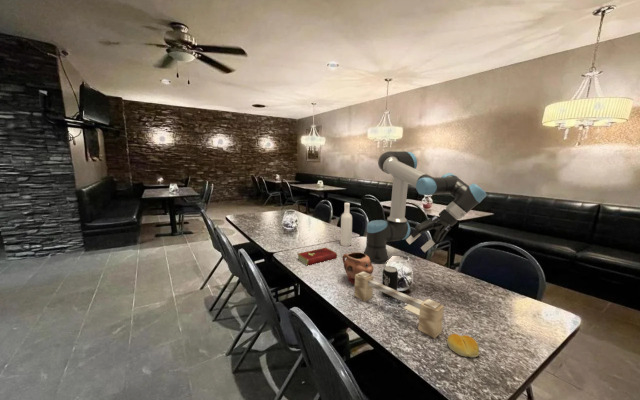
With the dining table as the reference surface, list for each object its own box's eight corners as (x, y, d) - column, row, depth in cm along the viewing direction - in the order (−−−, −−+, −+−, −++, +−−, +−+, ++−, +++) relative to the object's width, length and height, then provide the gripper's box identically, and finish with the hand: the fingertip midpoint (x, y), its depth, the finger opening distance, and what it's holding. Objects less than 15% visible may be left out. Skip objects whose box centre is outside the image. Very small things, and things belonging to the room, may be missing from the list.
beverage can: (397, 298, 112) (399, 272, 110) (382, 296, 114) (383, 271, 112) (396, 291, 119) (397, 266, 117) (381, 289, 120) (382, 265, 118)
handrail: (354, 296, 114) (355, 273, 112) (361, 292, 117) (362, 270, 115) (434, 338, 87) (437, 309, 86) (441, 332, 91) (443, 304, 89)
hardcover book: (336, 259, 157) (337, 252, 156) (307, 266, 145) (307, 259, 145) (325, 253, 167) (325, 247, 166) (297, 259, 155) (297, 253, 154)
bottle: (340, 242, 187) (341, 201, 182) (351, 242, 186) (352, 202, 182) (340, 246, 179) (341, 203, 174) (351, 246, 179) (353, 204, 174)
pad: (403, 308, 105) (403, 307, 105) (417, 299, 112) (417, 298, 112) (430, 321, 97) (430, 320, 97) (442, 310, 104) (442, 309, 104)
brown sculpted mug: (333, 277, 131) (333, 251, 129) (348, 271, 139) (349, 246, 137) (364, 292, 117) (365, 263, 115) (379, 284, 125) (381, 257, 123)
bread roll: (444, 338, 88) (445, 327, 87) (473, 343, 86) (474, 332, 85) (450, 355, 80) (451, 344, 79) (482, 361, 78) (483, 349, 77)
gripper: (444, 209, 102) (405, 244, 108) (468, 229, 116) (433, 258, 123) (433, 198, 107) (396, 232, 114) (457, 218, 122) (423, 247, 129)
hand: (415, 246), depth 118 cm, fingers open, 13 cm apart
